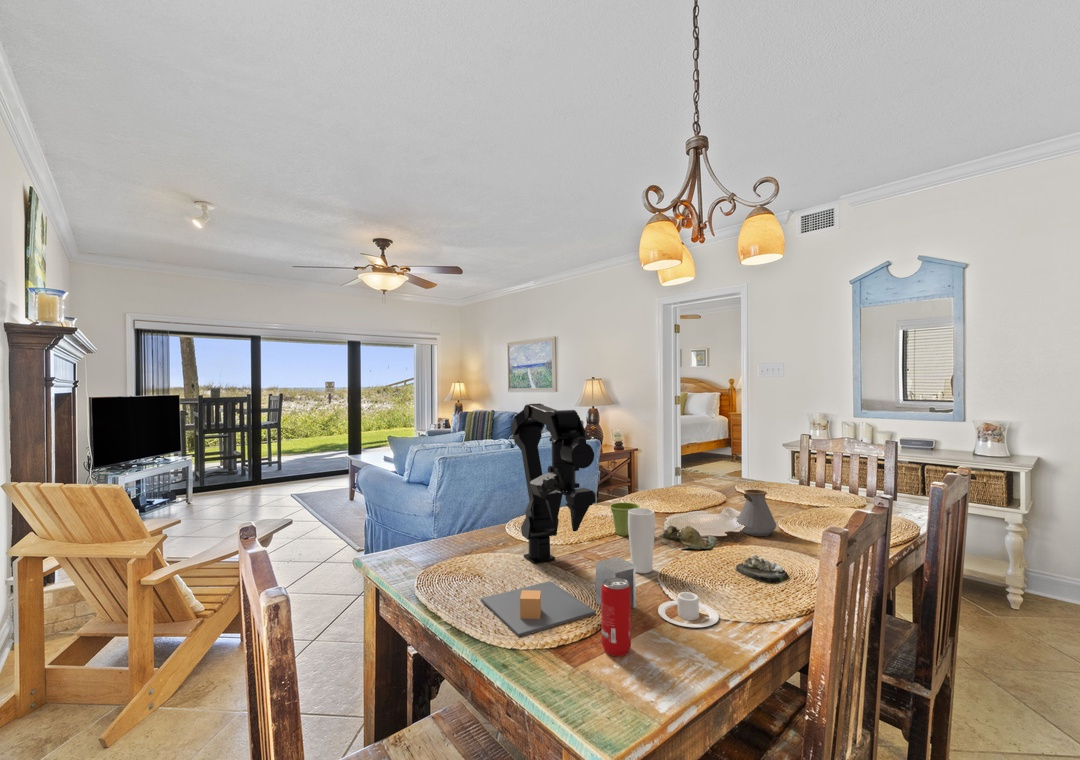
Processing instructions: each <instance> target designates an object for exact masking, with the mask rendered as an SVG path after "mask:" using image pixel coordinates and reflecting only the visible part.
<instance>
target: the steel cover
mask: <svg viewBox="0 0 1080 760" xmlns="http://www.w3.org/2000/svg"><path fill="white" fill-rule="evenodd" d="M636 573H637V572H636V565H634V564H632V563H631V561H630V562H629V561H627V560H625V559H624V558H622V557H619V556H614V557H611V558H606V559H603V560H598V561H597V560H596V561H595V603H596V604H597V605H598V606H599V607H601V586H602V584H603V581H604V580H605V579H608V578H621V579H624V580H626V581H628V582H629V586H630V588H631V608H633V609H636V608H637V604H636V603H637V595H636V594H637V591H636V590H637V587H636V585H637V584H636V583H637V580H636V575H637V574H636Z"/></svg>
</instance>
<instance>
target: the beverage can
mask: <svg viewBox="0 0 1080 760" xmlns="http://www.w3.org/2000/svg"><path fill="white" fill-rule="evenodd" d="M600 607H601V611H600V612H601V645H602V648H603V651H604V653H606V654H607V655H609V656H611V657H616V658H618V657H620V658H621V657H624V656H627V654H629V652H630V651H629V650H630V649H631V647H632V621H631V620H632V616H631V614H632V613H631V612H632V610H631V608H632V607H631V588H630V586H629V582H628V581H626V580H624V579H621V578H608V579H605V580H604V581H603V584H602V586H601V606H600Z"/></svg>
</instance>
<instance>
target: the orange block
mask: <svg viewBox="0 0 1080 760" xmlns="http://www.w3.org/2000/svg"><path fill="white" fill-rule="evenodd" d="M540 615H541V591H537V590H522V592H521V596H520V619H540Z"/></svg>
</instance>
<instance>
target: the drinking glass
mask: <svg viewBox="0 0 1080 760" xmlns="http://www.w3.org/2000/svg"><path fill="white" fill-rule="evenodd" d="M655 513H656V512H655V511H654V510H653V509H650V508H645V507H643V508H642V507H640V508H633V509H630V510H629V511H628V532H629V535H628V539H629V540H628V541H629V551H630V553H629V554H630V563H632V564H634V565H636V573H637V574H651V572H652V571H653V564H654V560H653V559H654V550H655V549H654V548H655V547H654V546H655V535H656V515H655Z"/></svg>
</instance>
